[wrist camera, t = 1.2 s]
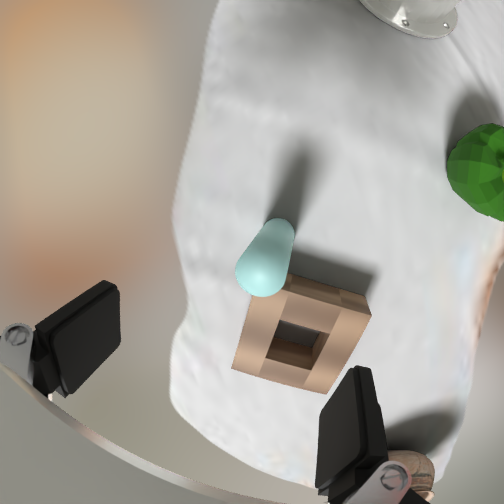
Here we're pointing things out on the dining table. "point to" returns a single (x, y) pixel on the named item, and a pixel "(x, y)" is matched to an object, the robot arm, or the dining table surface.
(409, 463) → the cooking pot
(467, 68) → the dining table surface
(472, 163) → the bell pepper
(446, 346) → the dining table surface
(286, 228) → the peg
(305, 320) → the socket
